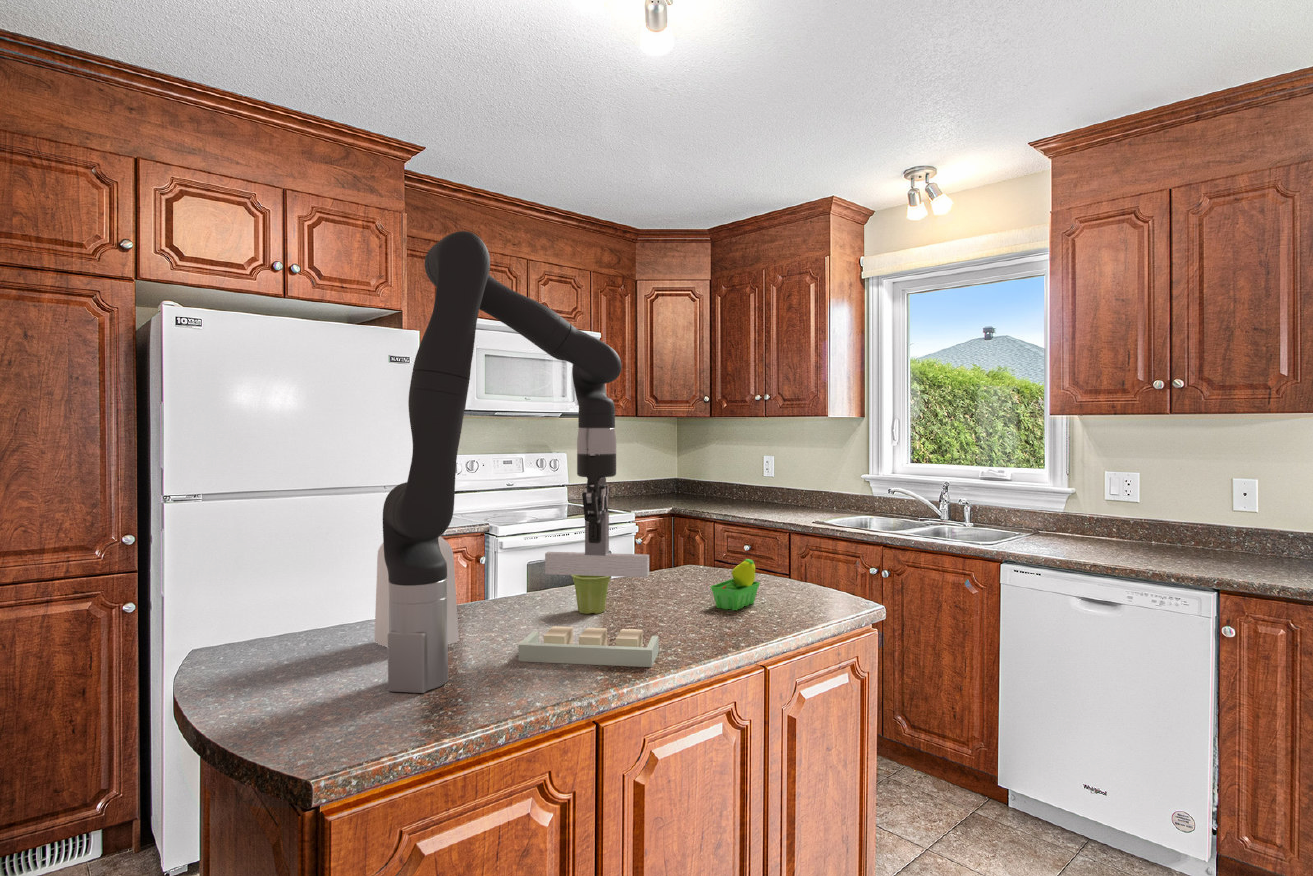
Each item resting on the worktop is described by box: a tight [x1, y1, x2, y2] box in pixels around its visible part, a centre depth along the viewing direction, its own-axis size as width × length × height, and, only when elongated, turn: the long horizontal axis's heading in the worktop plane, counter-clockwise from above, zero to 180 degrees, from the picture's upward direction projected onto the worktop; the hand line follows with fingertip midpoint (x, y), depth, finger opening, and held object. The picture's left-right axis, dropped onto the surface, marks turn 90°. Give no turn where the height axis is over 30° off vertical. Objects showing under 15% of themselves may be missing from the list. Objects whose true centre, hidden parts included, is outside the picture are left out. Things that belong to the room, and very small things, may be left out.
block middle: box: [578, 627, 608, 646], centre depth 133 cm, size 6×4×4 cm, turn 171°
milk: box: [373, 535, 460, 649], centre depth 140 cm, size 12×12×26 cm
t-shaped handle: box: [544, 511, 650, 579], centre depth 137 cm, size 3×20×12 cm, turn 82°
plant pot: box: [570, 575, 612, 615], centre depth 163 cm, size 9×9×9 cm
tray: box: [517, 630, 660, 668], centre depth 131 cm, size 8×24×3 cm, turn 82°
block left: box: [542, 625, 574, 644], centre depth 134 cm, size 6×4×4 cm, turn 172°
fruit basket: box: [710, 558, 761, 611], centre depth 167 cm, size 11×9×11 cm
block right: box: [615, 628, 644, 647], centre depth 132 cm, size 6×4×4 cm, turn 172°
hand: (596, 541), depth 137 cm, fingers closed on t-shaped handle, 3 cm apart
